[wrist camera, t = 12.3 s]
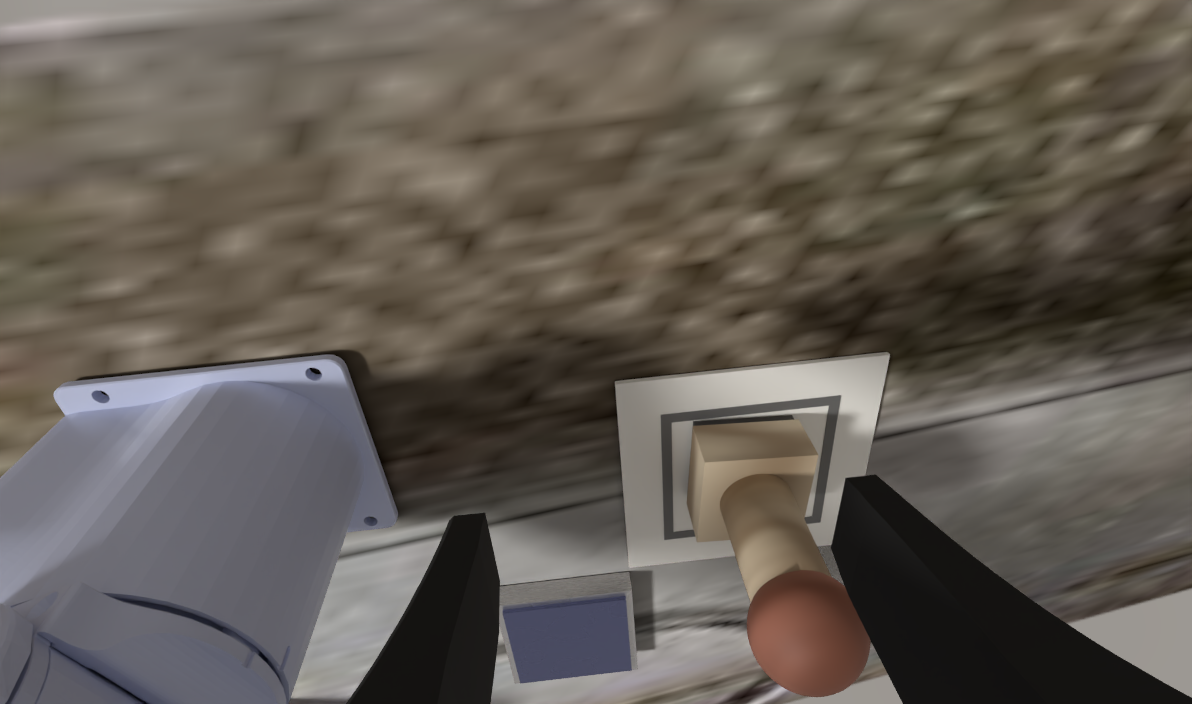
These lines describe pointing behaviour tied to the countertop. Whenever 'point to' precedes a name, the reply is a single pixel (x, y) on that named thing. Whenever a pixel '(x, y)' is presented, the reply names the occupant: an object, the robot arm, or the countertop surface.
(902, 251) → the countertop surface
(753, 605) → the stamp
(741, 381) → the paper
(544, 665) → the ink pad
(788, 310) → the countertop surface
